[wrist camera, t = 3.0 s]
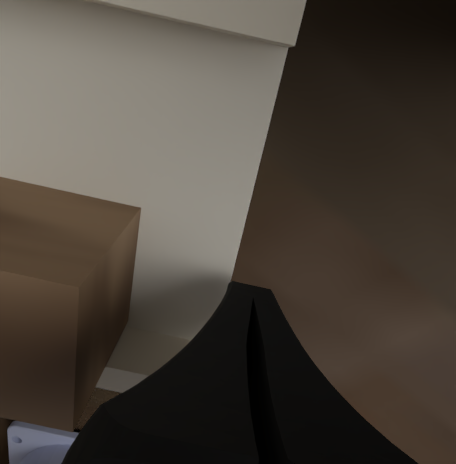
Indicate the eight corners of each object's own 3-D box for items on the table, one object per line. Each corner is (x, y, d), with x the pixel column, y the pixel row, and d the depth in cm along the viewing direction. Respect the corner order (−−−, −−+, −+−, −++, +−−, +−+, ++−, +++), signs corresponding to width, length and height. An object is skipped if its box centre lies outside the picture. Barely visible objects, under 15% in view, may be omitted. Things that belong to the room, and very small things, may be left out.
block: (128, 321, 14) (72, 432, 10) (5, 294, 14) (-103, 395, 10) (141, 207, 12) (79, 287, 8) (-2, 176, 12) (-140, 240, 8)
